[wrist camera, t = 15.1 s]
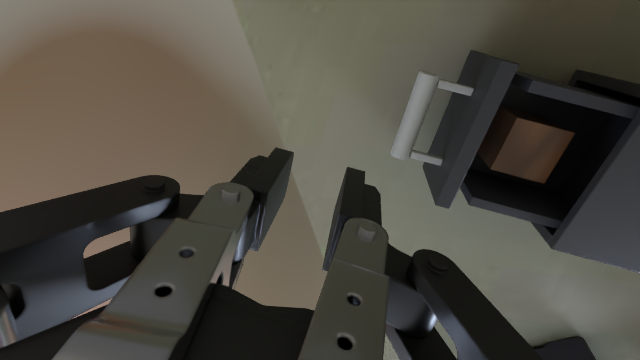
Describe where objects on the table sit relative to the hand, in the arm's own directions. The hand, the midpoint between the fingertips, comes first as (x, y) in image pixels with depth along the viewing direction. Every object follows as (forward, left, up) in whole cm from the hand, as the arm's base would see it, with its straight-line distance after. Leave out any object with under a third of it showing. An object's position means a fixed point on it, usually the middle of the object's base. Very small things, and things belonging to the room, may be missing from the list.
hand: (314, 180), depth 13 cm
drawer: (0, +14, -20) cm, 25 cm away
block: (0, +18, -17) cm, 24 cm away
